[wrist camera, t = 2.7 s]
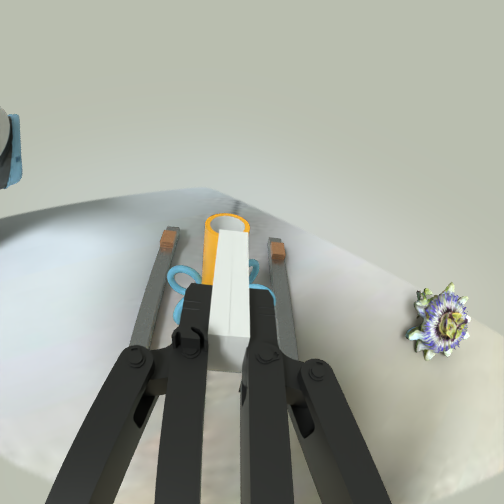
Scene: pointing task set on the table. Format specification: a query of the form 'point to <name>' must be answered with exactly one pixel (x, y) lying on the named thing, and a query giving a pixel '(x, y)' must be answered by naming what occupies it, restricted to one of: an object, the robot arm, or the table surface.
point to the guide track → (158, 280)
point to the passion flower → (439, 322)
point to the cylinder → (213, 257)
